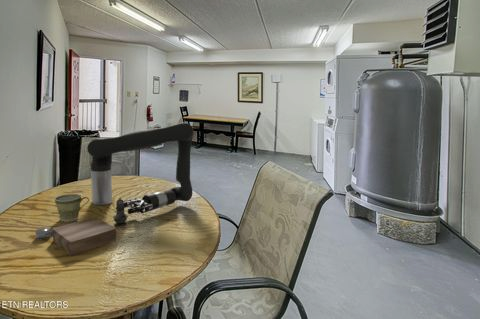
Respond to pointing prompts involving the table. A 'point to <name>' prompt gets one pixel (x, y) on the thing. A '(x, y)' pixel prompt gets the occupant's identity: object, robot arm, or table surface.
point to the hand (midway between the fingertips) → (122, 209)
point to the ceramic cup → (69, 206)
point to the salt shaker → (120, 214)
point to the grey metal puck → (43, 233)
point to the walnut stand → (84, 235)
